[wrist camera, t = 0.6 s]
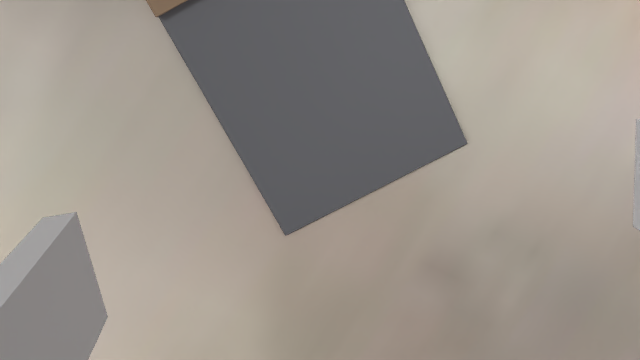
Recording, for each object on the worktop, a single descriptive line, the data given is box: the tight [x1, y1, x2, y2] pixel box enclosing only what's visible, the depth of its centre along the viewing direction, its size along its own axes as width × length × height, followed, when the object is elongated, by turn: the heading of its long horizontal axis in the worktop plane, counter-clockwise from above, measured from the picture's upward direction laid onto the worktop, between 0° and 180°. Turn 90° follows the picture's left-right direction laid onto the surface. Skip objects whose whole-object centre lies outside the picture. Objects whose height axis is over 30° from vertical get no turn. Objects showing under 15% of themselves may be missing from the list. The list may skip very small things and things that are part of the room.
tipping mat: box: [146, 0, 467, 236], centre depth 39 cm, size 18×14×1 cm
